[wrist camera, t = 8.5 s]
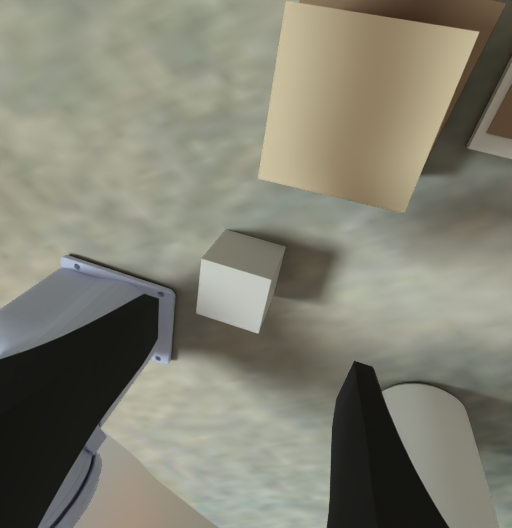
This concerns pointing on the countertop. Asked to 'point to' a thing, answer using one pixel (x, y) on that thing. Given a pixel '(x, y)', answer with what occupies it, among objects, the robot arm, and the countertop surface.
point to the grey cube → (239, 280)
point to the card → (496, 120)
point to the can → (442, 452)
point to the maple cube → (358, 102)
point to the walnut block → (433, 12)
